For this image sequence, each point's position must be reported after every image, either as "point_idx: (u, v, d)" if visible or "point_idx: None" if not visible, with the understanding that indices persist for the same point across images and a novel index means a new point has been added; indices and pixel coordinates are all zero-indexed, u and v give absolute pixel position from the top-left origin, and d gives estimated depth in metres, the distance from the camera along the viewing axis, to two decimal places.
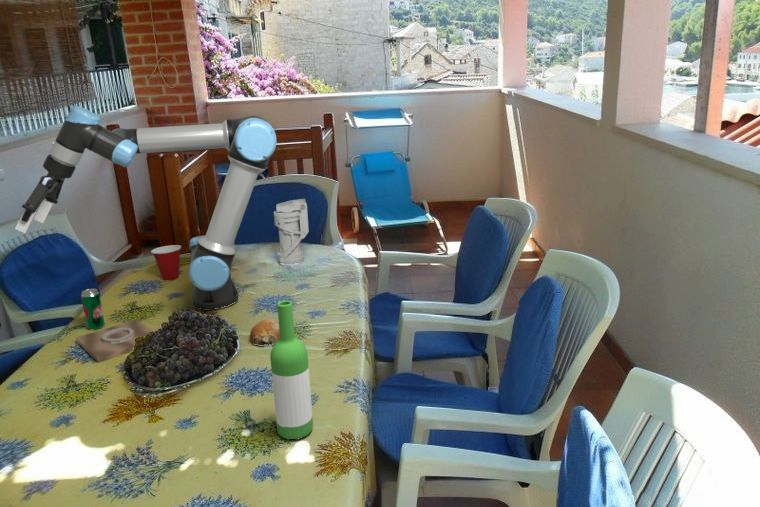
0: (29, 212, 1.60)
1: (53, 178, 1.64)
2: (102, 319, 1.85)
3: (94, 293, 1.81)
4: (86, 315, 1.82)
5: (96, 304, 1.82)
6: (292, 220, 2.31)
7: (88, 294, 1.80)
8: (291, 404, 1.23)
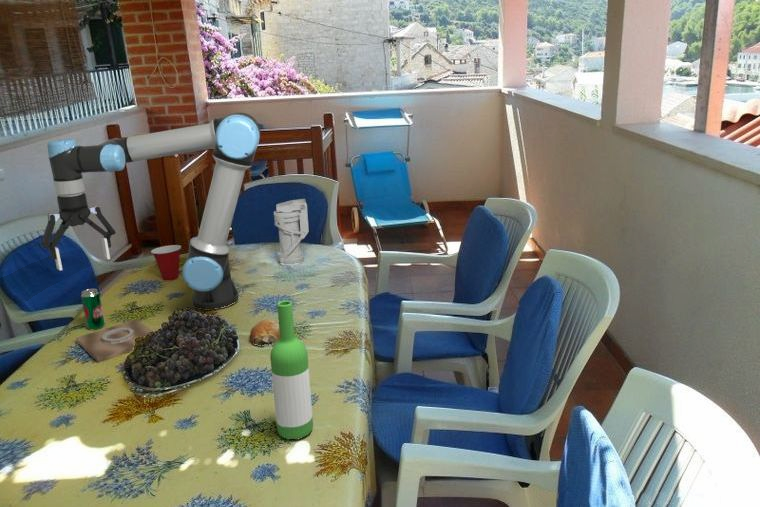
0: (49, 249, 1.72)
1: (61, 213, 1.71)
2: (102, 319, 1.85)
3: (94, 293, 1.81)
4: (86, 315, 1.82)
5: (96, 304, 1.82)
6: (292, 220, 2.31)
7: (88, 294, 1.80)
8: (291, 404, 1.23)
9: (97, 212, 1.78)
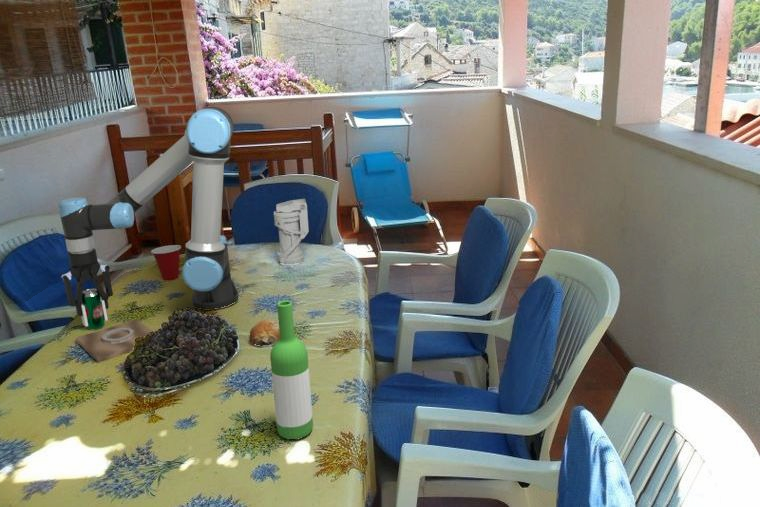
0: (76, 307, 1.80)
1: (71, 270, 1.76)
2: (102, 319, 1.85)
3: (94, 293, 1.81)
4: (86, 315, 1.82)
5: (96, 304, 1.82)
6: (292, 220, 2.31)
7: (88, 294, 1.80)
8: (291, 404, 1.23)
9: (105, 270, 1.83)
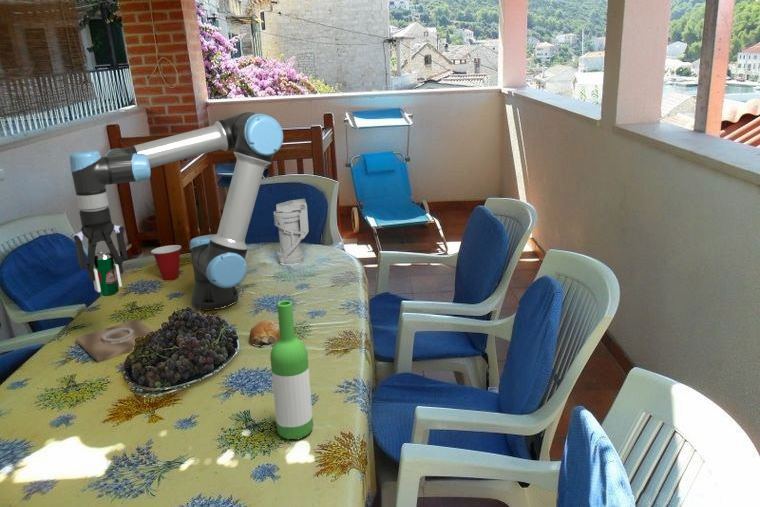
0: (88, 271, 1.65)
1: (82, 230, 1.62)
2: (116, 285, 1.70)
3: (107, 256, 1.66)
4: (99, 280, 1.67)
5: (109, 268, 1.67)
6: (292, 220, 2.31)
7: (101, 257, 1.65)
8: (291, 404, 1.23)
9: (120, 231, 1.68)
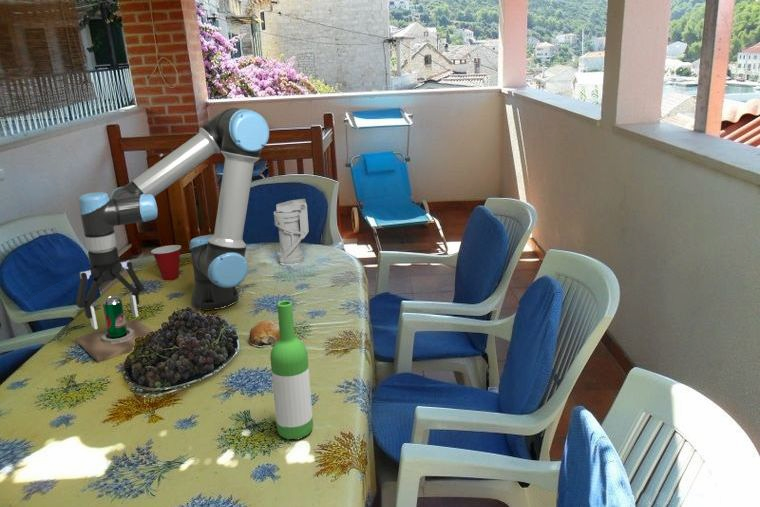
0: (85, 308, 1.66)
1: (92, 269, 1.65)
2: (125, 328, 1.74)
3: (117, 301, 1.70)
4: (108, 324, 1.71)
5: (118, 312, 1.71)
6: (292, 220, 2.31)
7: (110, 302, 1.69)
8: (291, 404, 1.23)
9: (128, 267, 1.71)
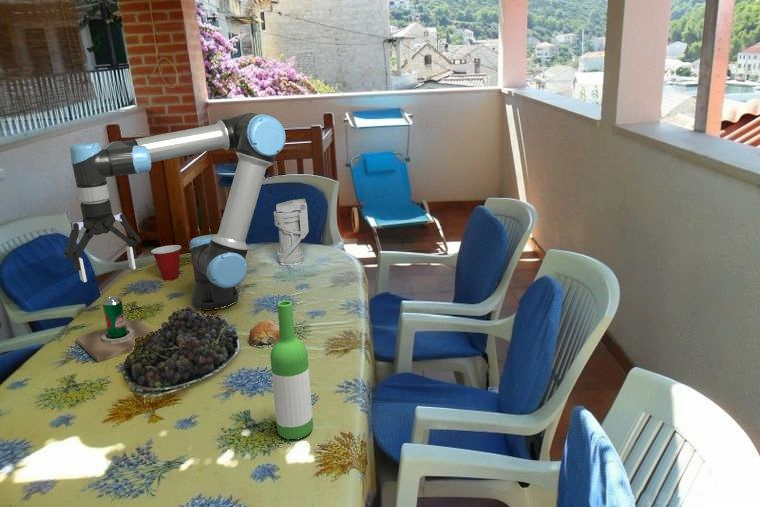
0: (73, 260, 1.62)
1: (85, 221, 1.61)
2: (125, 329, 1.74)
3: (117, 301, 1.70)
4: (108, 325, 1.71)
5: (118, 313, 1.71)
6: (292, 220, 2.31)
7: (110, 302, 1.69)
8: (291, 404, 1.23)
9: (122, 219, 1.68)
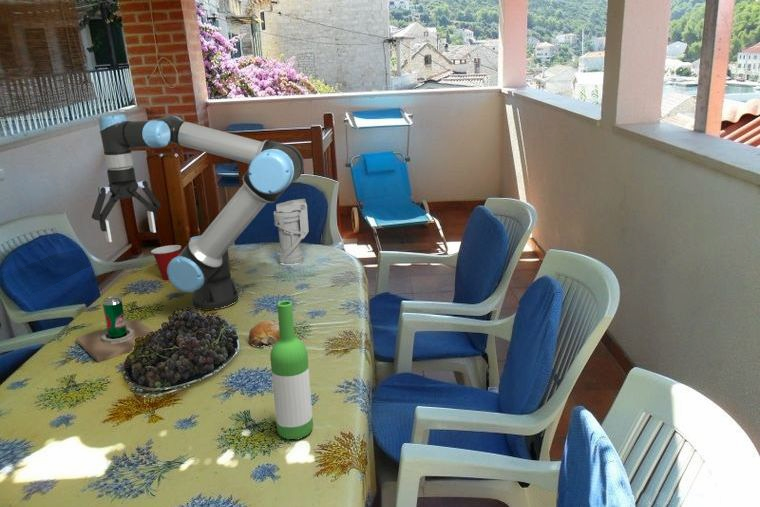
0: (100, 221, 1.77)
1: (111, 186, 1.76)
2: (125, 329, 1.74)
3: (117, 301, 1.70)
4: (108, 325, 1.71)
5: (118, 313, 1.71)
6: (292, 220, 2.31)
7: (110, 302, 1.69)
8: (291, 404, 1.23)
9: (144, 186, 1.83)
